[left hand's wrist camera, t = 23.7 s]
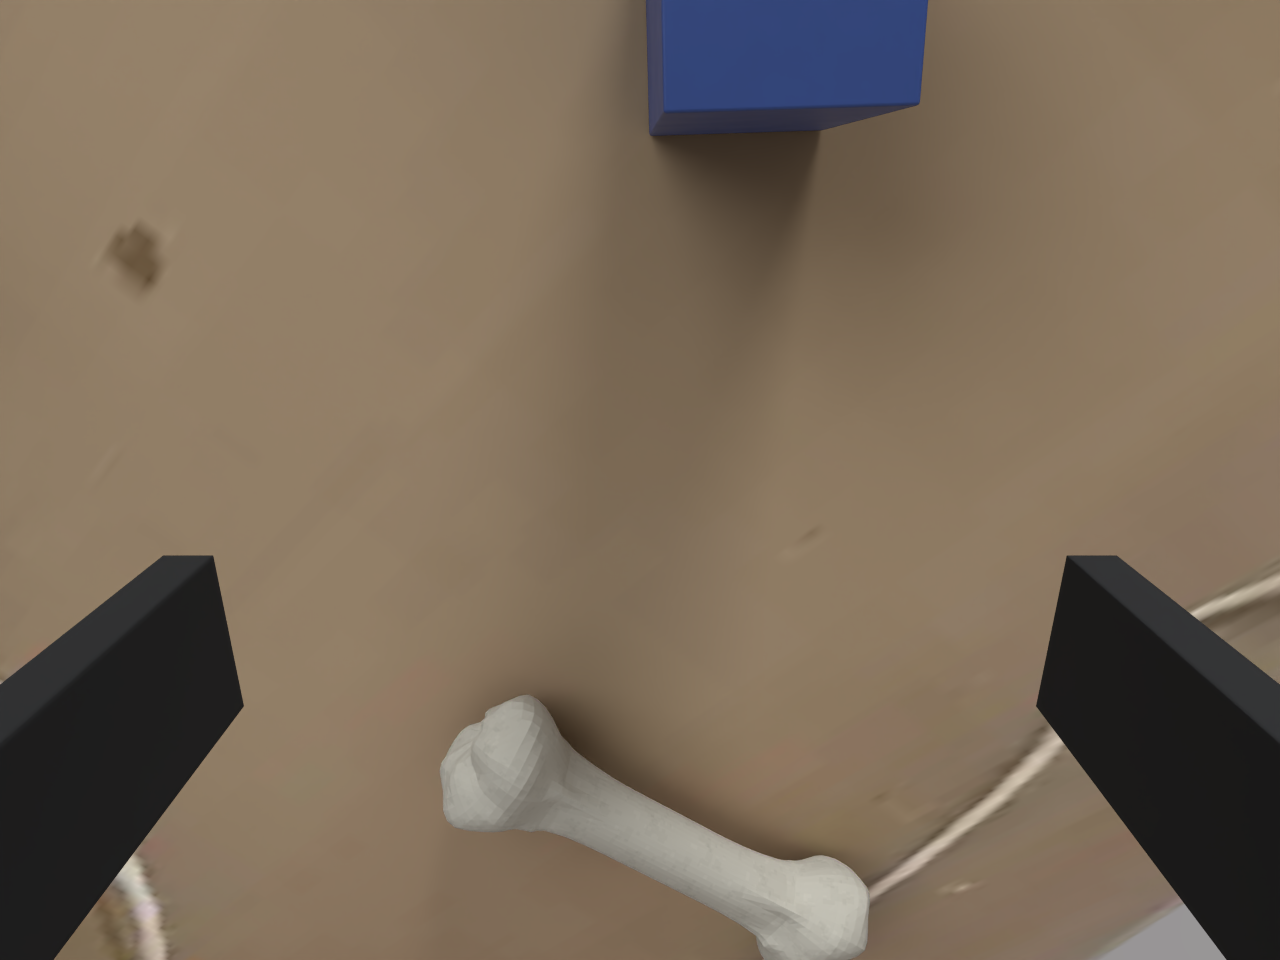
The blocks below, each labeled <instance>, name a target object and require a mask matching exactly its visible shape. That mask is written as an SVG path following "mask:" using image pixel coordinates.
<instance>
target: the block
mask: <svg viewBox="0 0 1280 960" xmlns="http://www.w3.org/2000/svg"><path fill="white" fill-rule="evenodd" d="M927 6H928V0H646V19H647V59H648V99H649V134H650V135H651V136H660V135H691V134H722V133H753V132H783V131H814V130H824V129H828V128H832V127H836V126H840V125H844V124H847V123H851V122H855V121H859V120H863V119H867V118H870V117H874V116H878V115H882V114H886V113H890V112H893V111H897V110H901V109H905V108H909V107H913V106H916V105H919V103H920V94H921V81H922V69H923V56H924V44H925V31H926V19H927Z"/></svg>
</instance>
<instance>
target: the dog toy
mask: <svg viewBox="0 0 1280 960" xmlns="http://www.w3.org/2000/svg"><path fill="white" fill-rule="evenodd" d="M440 777H441V783H442V788H443V811H444V814H445V816H446V819H447V821H448V822H449V823H450V824H451V825H453V826H454V827H455V828H459V829H463V830H468V831H478V832H502V831H506V830H511V829H520V830H525V831H529V832H534V831H547V832H551V833H554V834H557V835H561V836H564V837H566V838H569V839H571V840H574V841H576V842H578V843H581V844H583V845H585V846H587V847H589V848H591V849H594V850H596V851H598V852H600V853H602V854H604V855H606V856H608V857H610V858H612V859H614V860H616V861H618V862H620V863H622V864H624V865H626V866H628V867H630V868H632V869H634V870H636V871H638V872H640V873H642V874H644V875H646V876H648V877H650V878H652V879H654V880H656V881H658V882H660V883H662V884H664V885H666V886H668V887H670V888H672V889H674V890H676V891H678V892H680V893H682V894H684V895H686V896H688V897H690V898H692V899H694V900H696V901H698V902H700V903H702V904H704V905H706V906H708V907H710V908H712V909H714V910H716V911H718V912H719V913H721V914H723V915H725V916H726V917H728V918H730V919H732V920H733V921H735V922H737V923H739V924H740V925H742V926H743V927H744V928H746V929H747V930H749V931H750V932H752V933H753V934H754V935H756V940H757V945H758V948H759V952H760V953H761V955H762V957H763V958H764V960H850V959H852V958H855V957H857V956H859V955H860V954H861V953H862V952H863V951H865V947H866V944H867V936H868V913H869V904H870V896H869V892H868V889H867V887H866V885H865V884H864V883H863V882H862V880H861V879H860V878H859V877H858V876H857V875H856V874H855V872H854V871H853V870H852V869H850V868H849V867H848V866H847V865H845V864H843V863H842V862H840V861H838V860H836V859H835V858H831V857H828V856H823V855H817V856H812V857H809V858H806V859H803V860H797V861H793V860H781V859H776V858H773V857H770V856H767V855H764V854H761V853H759V852H756V851H754V850H751V849H749V848H746V847H744V846H742V845H740V844H737V843H735V842H733V841H731V840H729V839H727V838H725V837H723V836H721V835H719V834H717V833H715V832H713V831H711V830H710V829H708V828H706V827H704V826H702V825H700V824H698V823H696V822H694V821H692V820H690V819H689V818H687V817H685V816H683V815H681V814H679V813H677V812H675V811H673V810H671V809H670V808H668V807H666V806H664V805H662V804H660V803H658V802H656V801H654V800H652V799H651V798H649V797H647V796H645V795H643V794H641V793H639V792H637V791H635V790H633V789H632V788H630V787H628V786H626V785H625V784H623V783H621V782H619V781H618V780H616V779H614V778H612V777H611V776H610V775H608V774H607V773H605V772H604V771H602V770H601V769H599V768H598V767H596V766H595V765H593V764H592V763H591V762H589V761H588V760H587V759H585V758H584V757H583V756H581V755H580V754H579V753H577V752H576V751H575V750H574V749H573V748H572V747H571V745H570V744H569V743H568V742H567V741H566V740H565V739H564V738H563V737H562V736H561V734H560V732H559V730H558V728H557V726H556V724H555V722H554V720H553V718H552V716H551V715H550V713H549V711H548V710H547V708H546V707H545V706H544V705H543V704H542V703H541V702H540V701H539V700H538V699H536V698H535V697H533V696H531V695H521V696H518V697H515V698H513V699H511V700H509V701H506V702H504V703H502V704H500V705H497V706H495V707H492V708H490V709H489V710H488V711H487V712H486V713H485V718H484V719H483V720H482V721H481V722H479V723H475V724H471V725H469V726H467V727H466V728H464V729H463V730H462V731H461V732H460V733H459V735H458V736H457V737H456V739H455V740H454V742H453V743H452V745H451V747H450V748H449V751H448V753H447V755H446V757H445V759H444V760H443V761H442V763H441V767H440Z"/></svg>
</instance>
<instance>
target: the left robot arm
mask: <svg viewBox="0 0 1280 960" xmlns="http://www.w3.org/2000/svg"><path fill="white" fill-rule="evenodd" d="M243 707H244V705H243V700H242V695H241V690H240V685H239V680H238V675H237V670H236V666H235V661H234V656H233V651H232V646H231V641H230V636H229V631H228V626H227V621H226V616H225V612H224V607H223V602H222V597H221V592H220V587H219V582H218V577H217V572H216V567H215V562H214V558H213V556H162V557H161V558H160V559H158V560H157V561H156V562H155V563H153V564H152V565H151V566H150V567H148V568H147V569H146V570H144V571H143V572H142V573H141V574H139V575H138V576H137V577H136V578H134V579H133V580H132V581H131V582H129V583H128V584H127V585H126V586H124V587H123V588H122V589H120V590H119V591H118V592H117V593H115V594H114V595H113V596H112V597H110V598H109V599H108V600H107V601H105V602H104V603H103V604H102V605H100V606H99V607H98V608H96V609H95V610H94V611H93V612H91V613H90V614H89V615H88V616H86V617H85V618H84V619H83V620H81V621H80V622H79V623H78V624H76V625H75V626H74V627H72V628H71V629H70V630H69V631H67V632H66V633H65V634H64V635H62V636H61V637H60V638H59V639H57V640H56V641H55V642H53V643H52V644H51V645H50V646H48V647H47V648H46V649H45V650H43V651H42V652H41V653H40V654H38V655H37V656H36V657H35V658H33V659H32V660H31V661H29V662H28V663H27V664H26V665H24V666H23V667H22V668H21V669H19V670H18V671H17V672H16V673H14V674H13V675H12V676H11V677H9V678H8V679H7V680H5V681H4V682H3V683H2V684H0V960H54V958H55V957H56V956H57V954H58V953H59V952H60V950H61V949H62V948H63V946H64V945H65V944H66V942H67V941H68V940H69V938H70V937H71V936H72V934H73V933H74V932H75V930H76V929H77V928H78V926H79V925H80V924H81V922H82V921H83V920H84V918H85V917H86V916H87V914H88V913H89V912H90V910H91V909H92V908H93V906H94V905H95V904H96V902H97V901H98V900H99V898H100V897H101V896H102V894H103V893H104V892H105V890H106V889H107V888H108V886H109V885H110V884H111V882H112V881H113V880H114V878H115V877H116V876H117V874H118V873H119V872H120V870H121V869H122V868H123V866H124V865H125V864H126V862H127V861H128V860H129V858H130V857H131V856H132V854H133V853H134V852H135V850H136V849H137V848H138V846H139V845H140V844H141V842H142V841H143V840H144V838H145V837H146V836H147V834H148V833H149V832H150V830H151V829H152V828H153V826H154V825H155V824H156V822H157V821H158V820H159V818H160V817H161V816H162V814H163V813H164V812H165V810H166V809H167V808H168V806H169V805H170V804H171V802H172V801H173V800H174V798H175V797H176V796H177V794H178V793H179V792H180V790H181V789H182V788H183V786H184V785H185V784H186V782H187V781H188V780H189V778H190V777H191V776H192V774H193V773H194V772H195V770H196V769H197V768H198V766H199V765H200V764H201V762H202V761H203V760H204V758H205V757H206V756H207V754H208V753H209V752H210V751H211V749H212V748H213V747H214V745H215V744H216V743H217V741H218V740H219V739H220V737H221V736H222V735H223V733H224V732H225V731H226V729H227V728H228V727H229V725H230V724H231V723H232V721H233V720H234V719H235V717H236V716H237V715H238V713H239V712H240V711H241V709H242V708H243ZM1036 707H1037V708H1038V709H1039V711H1040V712H1041V713H1042V715H1043V716H1044V717H1045V719H1046V720H1047V721H1048V723H1049V724H1050V725H1051V727H1052V728H1053V729H1054V731H1055V732H1056V733H1057V735H1058V736H1059V737H1060V739H1061V740H1062V741H1063V743H1064V744H1065V745H1066V747H1067V748H1068V749H1069V751H1070V752H1071V753H1072V754H1073V756H1074V757H1075V758H1076V760H1077V761H1078V762H1079V764H1080V765H1081V766H1082V768H1083V769H1084V770H1085V772H1086V773H1087V774H1088V776H1089V777H1090V778H1091V780H1092V781H1093V782H1094V784H1095V785H1096V786H1097V788H1098V789H1099V790H1100V792H1101V793H1102V794H1103V796H1104V797H1105V798H1106V800H1107V801H1108V802H1109V804H1110V805H1111V806H1112V808H1113V809H1114V810H1115V812H1116V813H1117V814H1118V816H1119V817H1120V818H1121V820H1122V821H1123V822H1124V824H1125V825H1126V826H1127V828H1128V829H1129V830H1130V832H1131V833H1132V834H1133V836H1134V837H1135V838H1136V840H1137V841H1138V842H1139V844H1140V845H1141V846H1142V848H1143V849H1144V850H1145V852H1146V853H1147V854H1148V856H1149V857H1150V858H1151V860H1152V861H1153V862H1154V864H1155V865H1156V866H1157V868H1158V869H1159V870H1160V872H1161V873H1162V874H1163V876H1164V877H1165V878H1166V880H1167V881H1168V882H1169V884H1170V885H1171V886H1172V888H1173V889H1174V890H1175V892H1176V893H1177V894H1178V896H1179V897H1180V898H1181V900H1182V901H1183V902H1184V904H1185V905H1186V906H1187V908H1188V909H1189V910H1190V912H1191V913H1192V914H1193V916H1194V917H1195V918H1196V920H1197V921H1198V922H1199V924H1200V925H1201V926H1202V928H1203V929H1204V930H1205V932H1206V933H1207V934H1208V936H1209V937H1210V938H1211V940H1212V941H1213V942H1214V944H1215V945H1216V946H1217V948H1218V949H1219V950H1220V952H1221V953H1222V954H1223V956H1224V957H1225V958H1226V960H1280V684H1278V683H1277V682H1276V681H1275V680H1273V679H1272V678H1271V677H1269V676H1268V675H1267V674H1266V673H1264V672H1263V671H1262V670H1261V669H1259V668H1258V667H1257V666H1256V665H1254V664H1253V663H1252V662H1251V661H1249V660H1248V659H1247V658H1245V657H1244V656H1243V655H1242V654H1240V653H1239V652H1238V651H1237V650H1235V649H1234V648H1233V647H1232V646H1230V645H1229V644H1228V643H1227V642H1225V641H1224V640H1223V639H1221V638H1220V637H1219V636H1218V635H1216V634H1215V633H1214V632H1213V631H1211V630H1210V629H1209V628H1208V627H1206V626H1205V625H1204V624H1202V623H1201V622H1200V621H1199V620H1197V619H1196V618H1195V617H1194V616H1192V615H1191V614H1190V613H1189V612H1187V611H1186V610H1185V609H1184V608H1182V607H1181V606H1180V605H1178V604H1177V603H1176V602H1175V601H1173V600H1172V599H1171V598H1170V597H1168V596H1167V595H1166V594H1165V593H1163V592H1162V591H1161V590H1160V589H1158V588H1157V587H1156V586H1154V585H1153V584H1152V583H1151V582H1149V581H1148V580H1147V579H1146V578H1144V577H1143V576H1142V575H1141V574H1139V573H1138V572H1137V571H1136V570H1134V569H1133V568H1132V567H1130V566H1129V565H1128V564H1127V563H1125V562H1124V561H1123V560H1122V559H1120V558H1119V557H1118V556H1067V558H1066V562H1065V567H1064V572H1063V577H1062V582H1061V587H1060V592H1059V597H1058V602H1057V607H1056V612H1055V616H1054V621H1053V626H1052V631H1051V636H1050V641H1049V646H1048V651H1047V656H1046V661H1045V666H1044V670H1043V675H1042V680H1041V685H1040V690H1039V695H1038V700H1037V705H1036Z"/></svg>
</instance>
